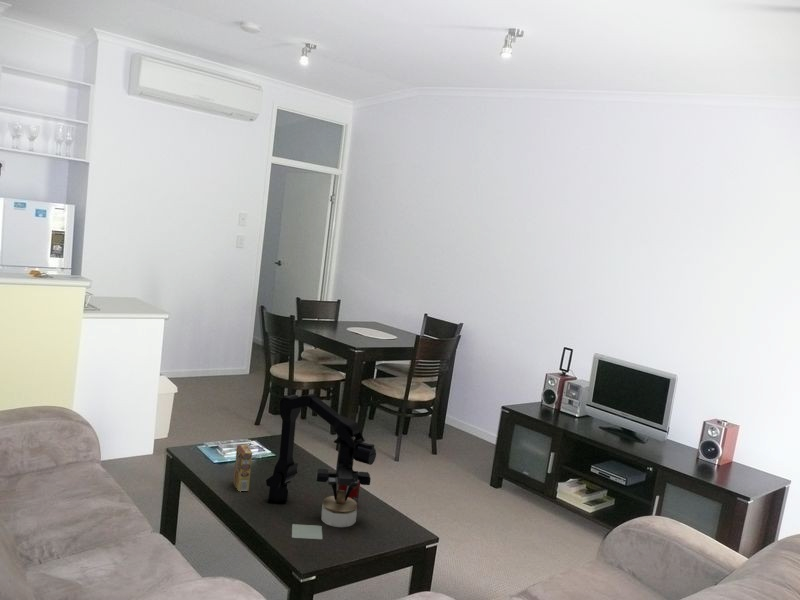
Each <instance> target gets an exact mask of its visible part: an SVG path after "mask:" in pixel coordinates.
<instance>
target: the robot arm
mask: <svg viewBox="0 0 800 600" xmlns="http://www.w3.org/2000/svg"><path fill="white" fill-rule="evenodd" d="M303 407H308V408H309V409H310V410H311V411H312V412H314V413H315V414H316V415H318V416H319V417H320V418H321V419H323V420H324V421H325V422H326V423H328V424H329V425H330V426H331V427H332V429H333V431H334V433H335V434H336V435H337V436H338V437H337V438H336V439H335V440H333V443H334V444H337V445H338V450H337V460H336V465H335V466H336V468H335V472H329V469H327V468H317V470H316V474H315V476H316V477H315V479H316V482H318V483H326V482H327V484H328V485H330V486H331V488H332V492H333V496H334V498H335V500H336V497H337V490H338V489H337V485H338V486H339V485H347V490H346V497H345V501H346V500H347V498H348V496H349V494H350V492H351V490H352V489H353V488H354V487H355V486H358V480H359V483H360V486H362V485H363V486H370V485H371V475H370V473H369V472H368V471H358V470H354V467H353V466H354V461H356V462H358V463H362V464H367V465H371V466H372V465H373V464H374V462H375V461H376V457H377V451H376V448H375V444H372V443H367V442H365V438H364V437H363V434H362V433H361V428H360V425H359V423H358V422H356V421H355V420H353V419H351V418H349V417H347V416H343V415H341V414H339V412H337V411H336V410H334V409H333V408H332V407H330V406H329V405H328V404H327V403H326V402H325V401H323V400H321V399H320V398H319V397H318V395H316V394H315V393H310V394H307V395H306V394H304V395H300V396H299V395H297V394H291V395H288V396H285V397H282V398H281V399H280V400H279V402H278V411H279V413H278V414H279V415H280V418H281V420H282V421H281V422H282V423H281V430H280V431H281V432H280V433H281V434H280V443H279V453H278V455H279V456H278V460H277V462H276V463H275V466H274V468H273V472H272V475H271V476H270V477H269V478H267V479H266V480H265V482H266V483H265V484H266V487H269V489H268V497H267V504H276V505H280V504H281V505H286V504H287V502H288V497H289V496H288V494H289V487H288V484H290V483H291V481H292V480H294V479H295V477H296V476H297V474H298V464H299V463H297V462H295V460H294V458H293V456H294V445H295V435H296V421H297V419H298V417H299V416H300V413H301V411H302V410H301V409H302V408H303ZM354 438H355V439H354Z"/></svg>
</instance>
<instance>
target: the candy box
mask: <svg viewBox="0 0 800 600" xmlns="http://www.w3.org/2000/svg"><path fill="white" fill-rule="evenodd" d="M235 450H236V453H235V464H234V474H233V485H234V488H237V489H236V491H237V490H238V491H240V492H239V493H242V492H241V491H248V492H249V490H250V480H251V472H252V471H251V469H252V460H253V452H252V450H251V449H250V447H249V446H248V445H247V444H244V445H243V444H241V445H240V444H239V445H236V449H235ZM238 491H237V492H238Z"/></svg>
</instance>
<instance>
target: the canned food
mask: <svg viewBox="0 0 800 600" xmlns="http://www.w3.org/2000/svg"><path fill="white" fill-rule="evenodd" d="M360 488H361V484H360V483H359V480H358V486H355V487H354V488H353V489H352V490H351V492H350V494H349V496H348V498H351V499H353V500H355V501H356V502H357V506H358V505H359V495H360ZM337 490H344V491H346V490H347V485H338V489H337Z"/></svg>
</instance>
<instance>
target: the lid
mask: <svg viewBox="0 0 800 600" xmlns="http://www.w3.org/2000/svg"><path fill="white" fill-rule="evenodd" d="M345 497H346V491H344V490H338V489H337V497H336V500H335V498H334V495H330V496H327V497H324V499H322V500H323V501H322V505H324V506H325V507H326V508H328V509H330V510H333V511H338V512H349V511H353V510H355V509H356V508H357V507H358V505H357V502H356V501H355V500H353V499H351V498H347V500H346V501H345Z"/></svg>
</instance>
